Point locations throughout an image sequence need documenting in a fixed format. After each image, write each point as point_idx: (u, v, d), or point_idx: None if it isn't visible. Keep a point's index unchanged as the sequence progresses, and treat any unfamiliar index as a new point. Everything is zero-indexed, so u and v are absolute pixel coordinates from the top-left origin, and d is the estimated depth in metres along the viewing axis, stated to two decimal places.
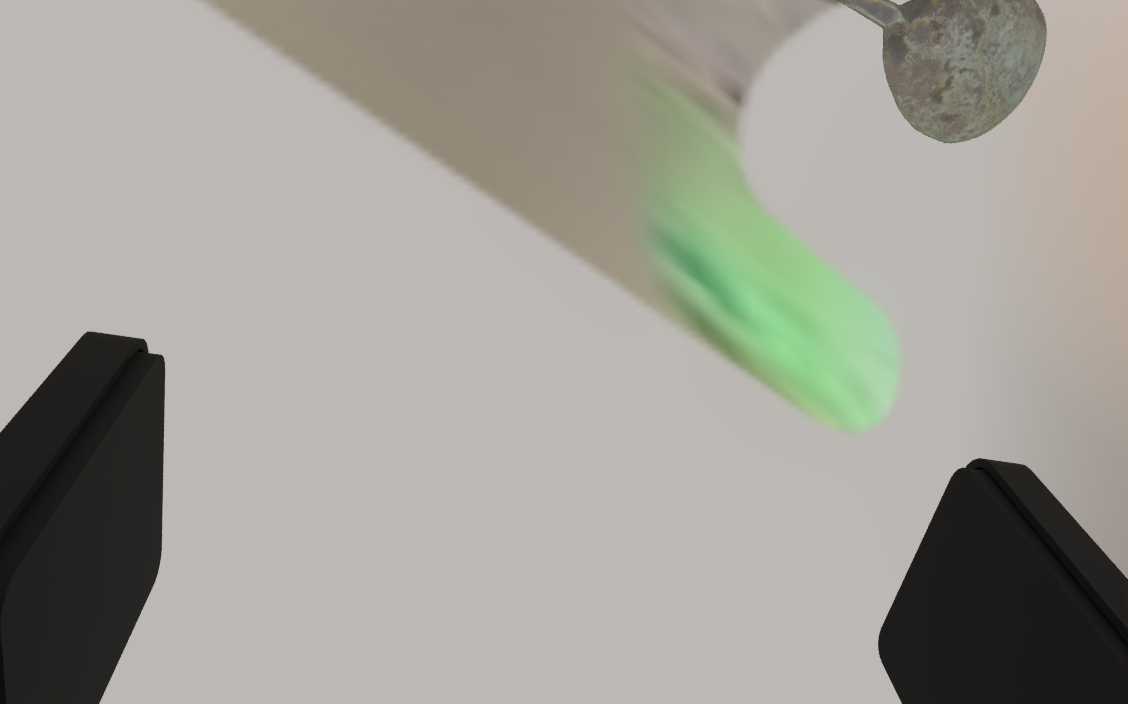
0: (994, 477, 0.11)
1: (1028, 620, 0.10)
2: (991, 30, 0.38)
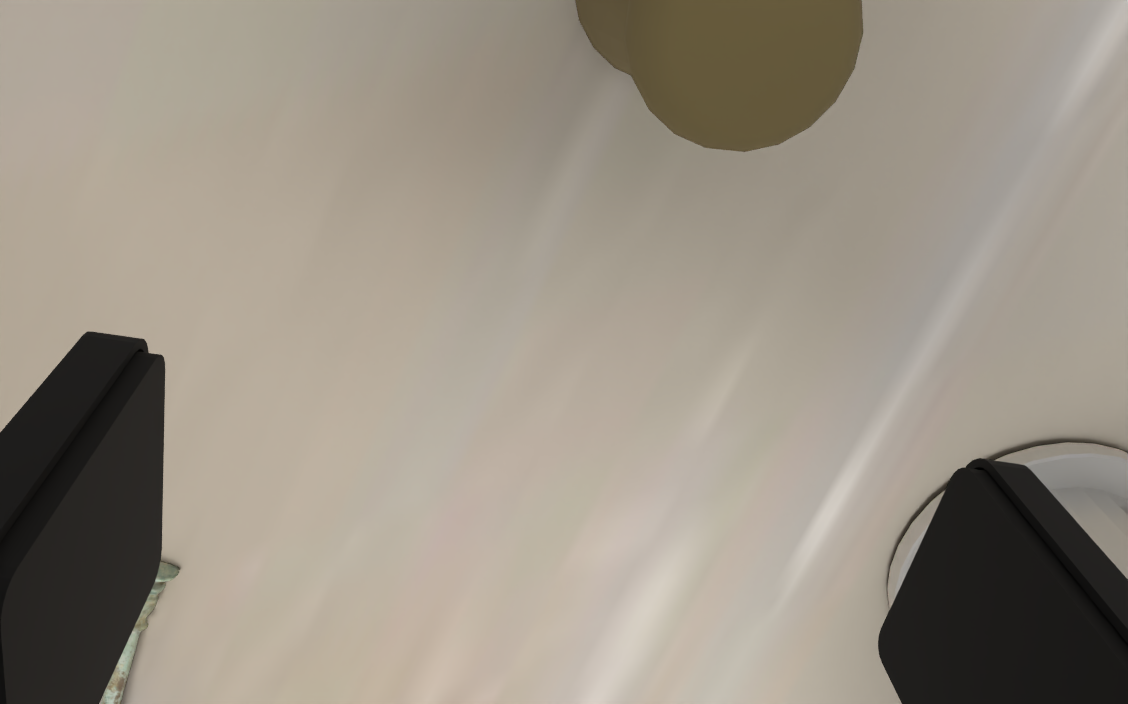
0: (994, 477, 0.11)
1: (1028, 620, 0.10)
2: None
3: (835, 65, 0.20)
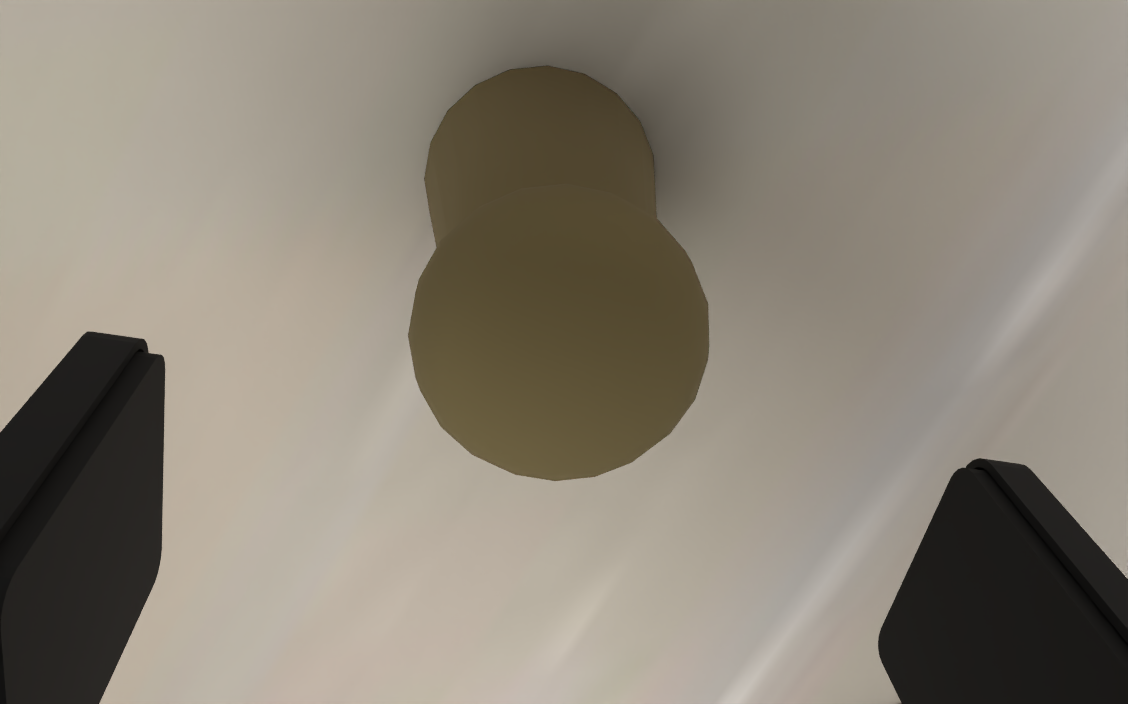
0: (994, 477, 0.11)
1: (1028, 620, 0.10)
2: None
3: (664, 406, 0.16)
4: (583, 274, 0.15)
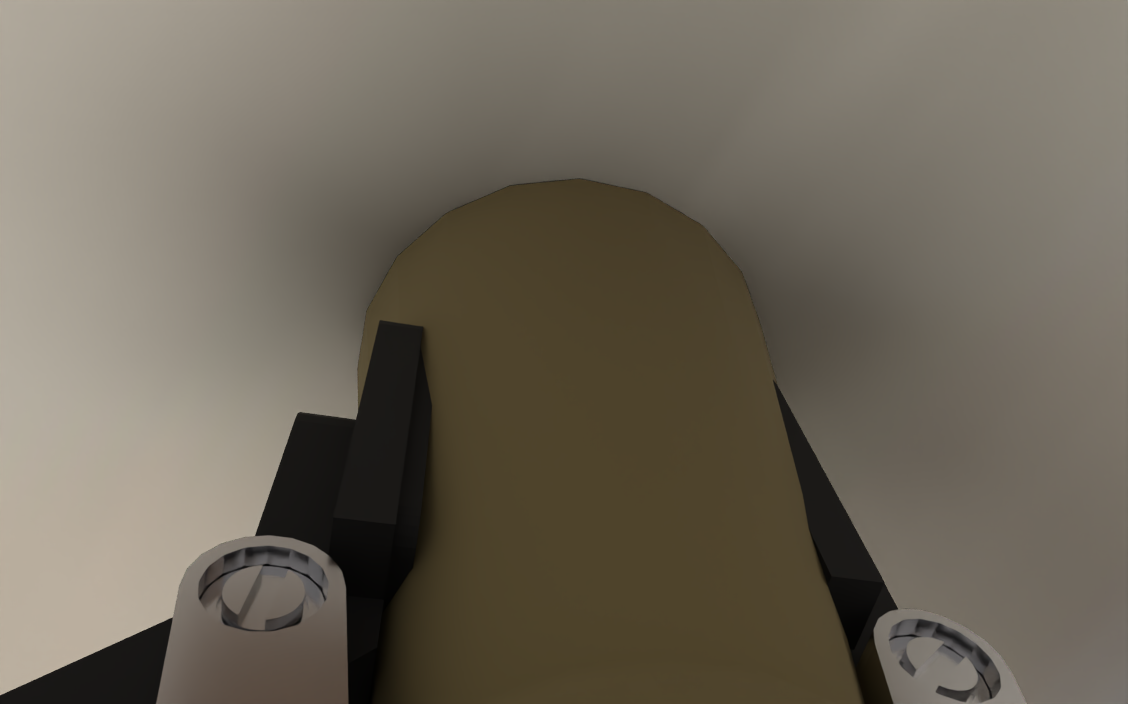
0: None
1: None
2: None
3: None
4: None
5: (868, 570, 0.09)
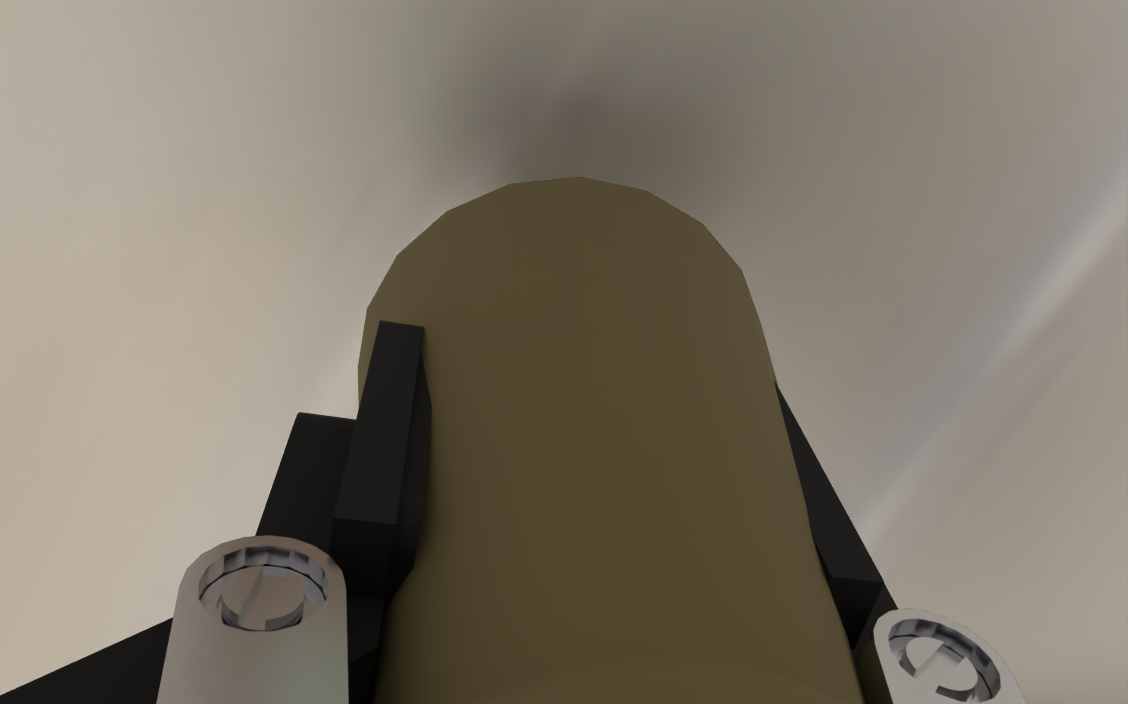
0: None
1: None
2: None
3: None
4: None
5: (868, 570, 0.09)
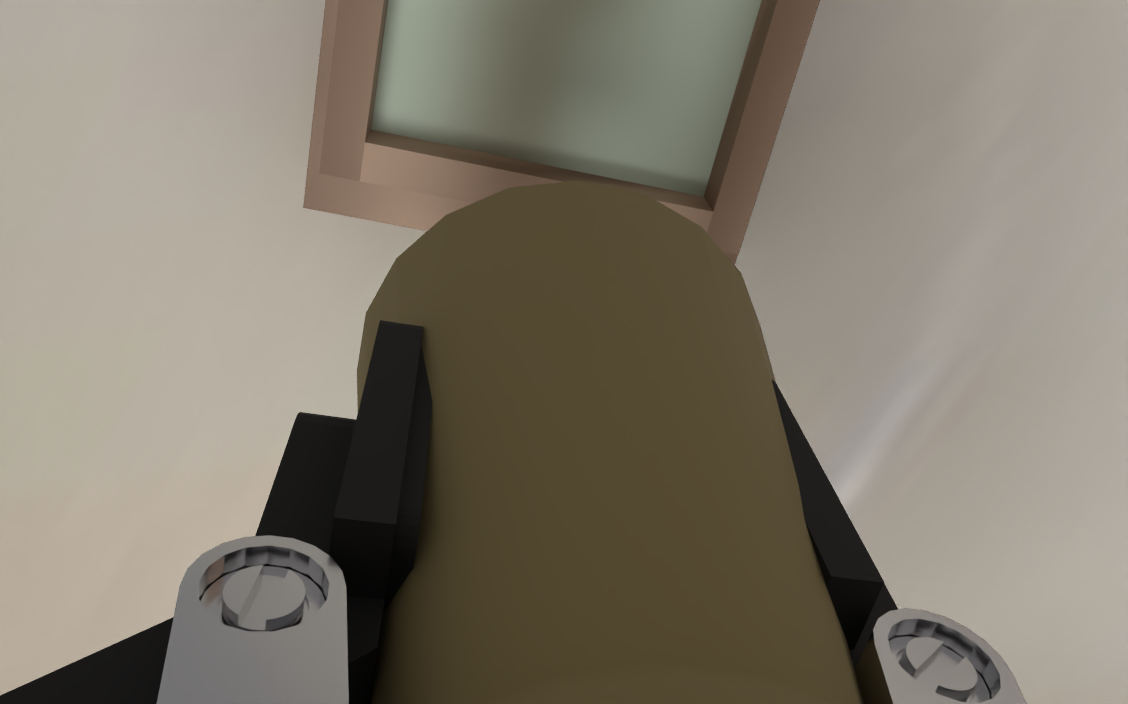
0: None
1: None
2: None
3: None
4: None
5: (868, 570, 0.09)
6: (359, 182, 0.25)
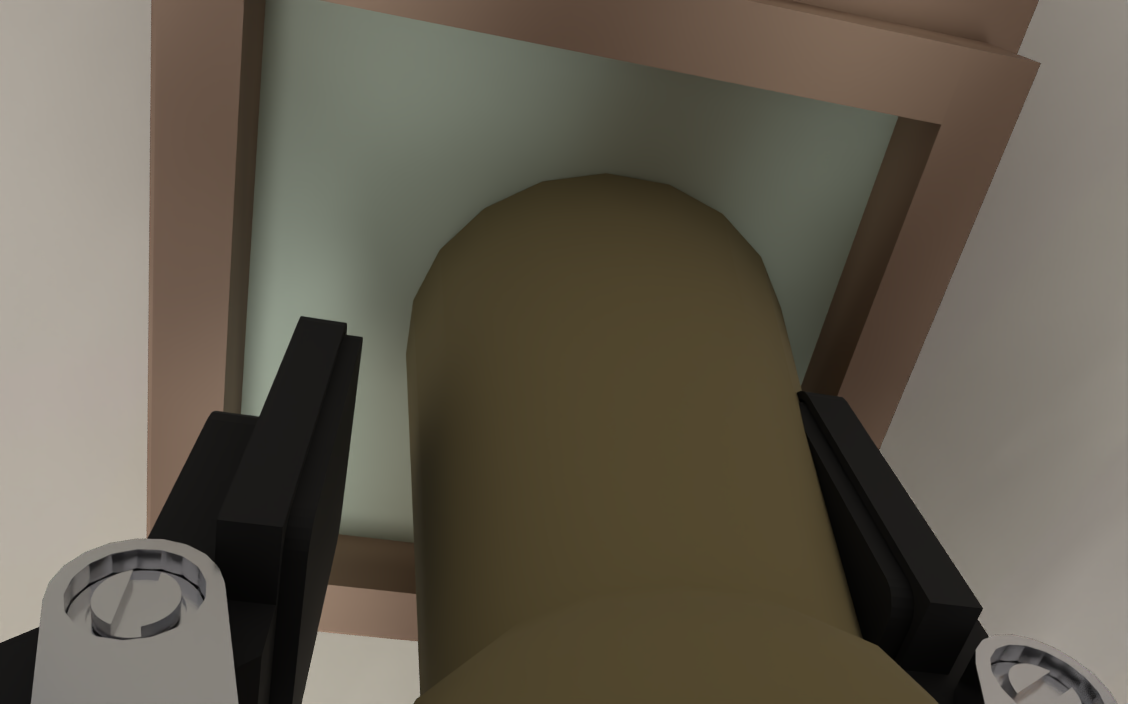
0: (809, 406, 0.11)
1: None
2: None
3: None
4: None
5: (965, 596, 0.08)
6: None
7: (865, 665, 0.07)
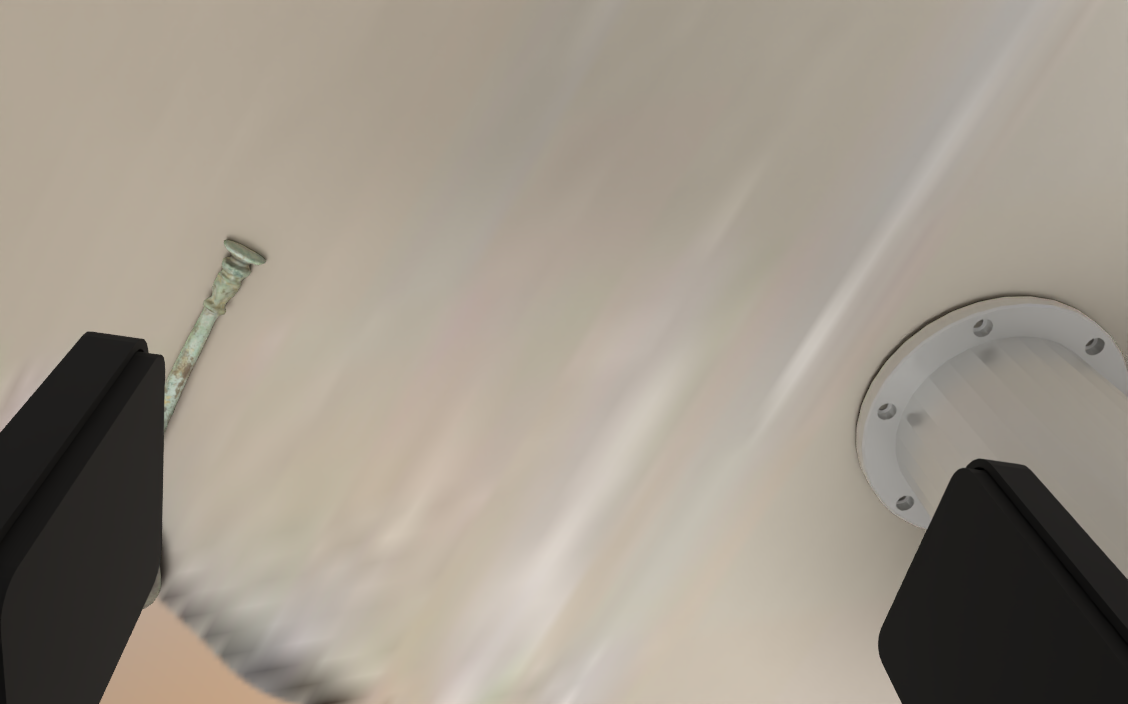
0: (994, 477, 0.11)
1: (1028, 620, 0.10)
2: None
3: None
4: None
5: None
6: None
7: None
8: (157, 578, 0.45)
